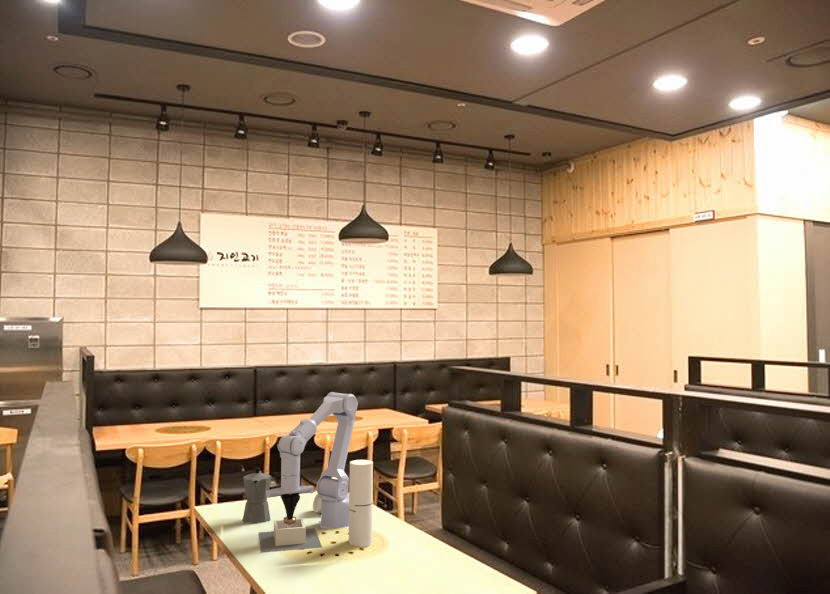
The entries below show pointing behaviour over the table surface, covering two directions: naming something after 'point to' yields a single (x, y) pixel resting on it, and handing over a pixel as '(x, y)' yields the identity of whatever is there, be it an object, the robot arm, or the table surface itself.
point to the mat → (269, 545)
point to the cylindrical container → (360, 503)
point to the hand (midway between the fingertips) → (289, 518)
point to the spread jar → (318, 501)
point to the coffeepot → (256, 497)
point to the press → (289, 533)
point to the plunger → (289, 521)
